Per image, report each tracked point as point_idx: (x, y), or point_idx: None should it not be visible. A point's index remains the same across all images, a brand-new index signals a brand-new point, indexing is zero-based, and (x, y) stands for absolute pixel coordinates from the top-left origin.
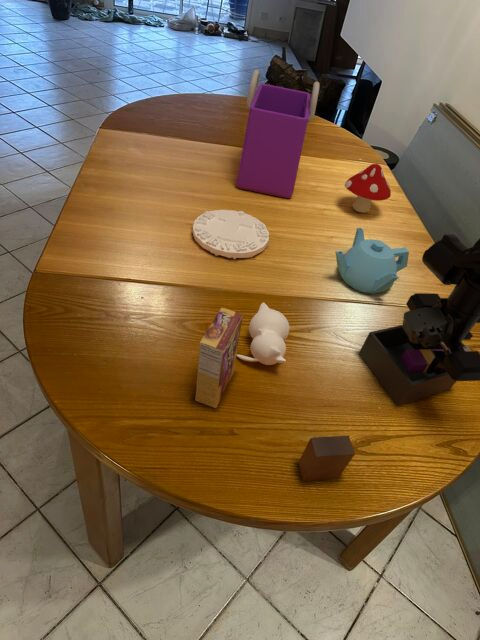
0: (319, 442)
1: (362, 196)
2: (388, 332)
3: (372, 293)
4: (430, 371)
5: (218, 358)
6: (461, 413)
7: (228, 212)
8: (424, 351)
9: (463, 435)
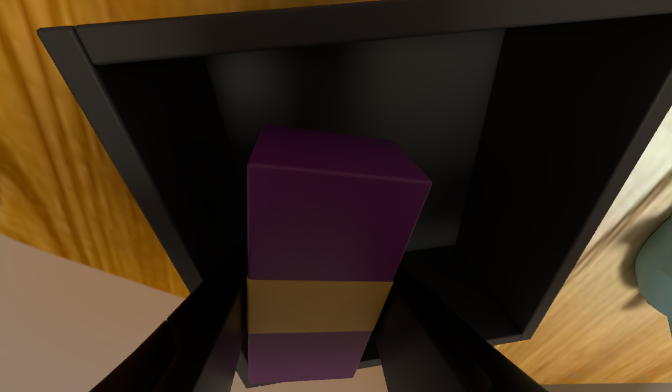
0: None
1: None
2: (588, 168)
3: (656, 230)
4: (228, 261)
5: None
6: (172, 266)
7: None
8: (367, 300)
9: (72, 235)
